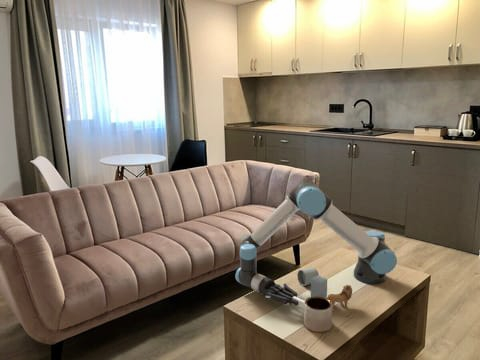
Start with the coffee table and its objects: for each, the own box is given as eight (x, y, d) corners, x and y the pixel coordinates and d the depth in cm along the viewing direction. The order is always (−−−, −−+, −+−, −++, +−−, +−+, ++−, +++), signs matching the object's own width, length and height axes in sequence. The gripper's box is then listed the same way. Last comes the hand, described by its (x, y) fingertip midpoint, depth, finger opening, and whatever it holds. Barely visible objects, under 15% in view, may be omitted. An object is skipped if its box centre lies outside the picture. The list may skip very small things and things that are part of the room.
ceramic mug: (320, 284, 186) (320, 269, 185) (305, 288, 183) (306, 273, 181) (306, 276, 196) (307, 261, 194) (293, 279, 192) (293, 265, 190)
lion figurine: (346, 300, 172) (347, 281, 170) (354, 306, 168) (356, 286, 166) (319, 309, 166) (320, 290, 164) (328, 315, 161) (328, 295, 159)
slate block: (310, 299, 173) (311, 279, 171) (317, 295, 177) (317, 275, 174) (319, 304, 170) (320, 282, 167) (326, 299, 173) (327, 279, 171)
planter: (304, 332, 150) (304, 309, 148) (303, 316, 161) (303, 295, 159) (333, 334, 149) (334, 311, 147) (330, 317, 159) (331, 296, 157)
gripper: (273, 288, 179) (315, 307, 162) (253, 298, 171) (295, 320, 154) (273, 272, 178) (316, 291, 161) (253, 282, 169) (295, 303, 152)
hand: (306, 305), depth 157 cm, fingers closed
